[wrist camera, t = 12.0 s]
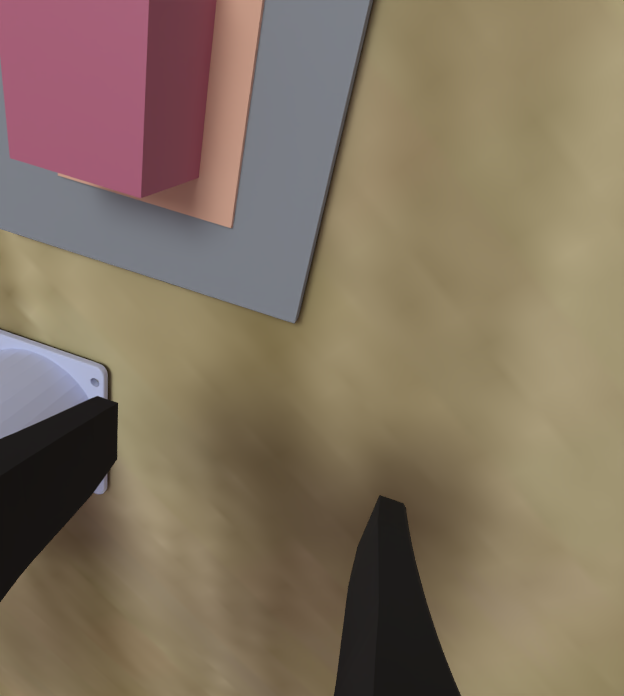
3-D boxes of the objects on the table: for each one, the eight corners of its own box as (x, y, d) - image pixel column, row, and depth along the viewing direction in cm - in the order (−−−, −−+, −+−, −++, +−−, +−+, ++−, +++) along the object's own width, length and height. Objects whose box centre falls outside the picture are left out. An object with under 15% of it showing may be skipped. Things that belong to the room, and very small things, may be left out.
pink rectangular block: (220, -38, 15) (152, -76, 11) (198, 177, 18) (140, 198, 15) (87, -71, 15) (-17, -117, 12) (90, 145, 18) (9, 158, 15)
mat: (298, 317, 21) (293, 325, 20) (10, 225, 22) (-4, 229, 21) (423, -213, 13) (421, -231, 12) (-46, -308, 14) (-71, -327, 13)
